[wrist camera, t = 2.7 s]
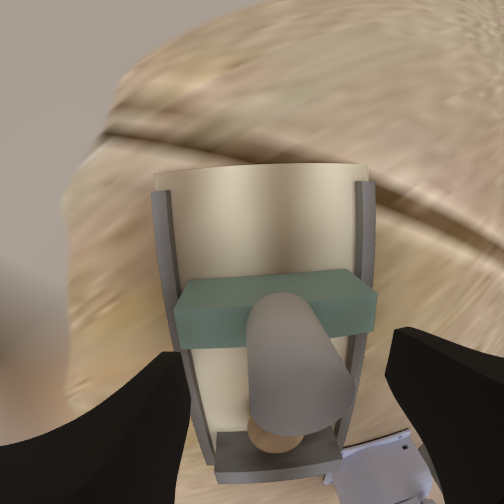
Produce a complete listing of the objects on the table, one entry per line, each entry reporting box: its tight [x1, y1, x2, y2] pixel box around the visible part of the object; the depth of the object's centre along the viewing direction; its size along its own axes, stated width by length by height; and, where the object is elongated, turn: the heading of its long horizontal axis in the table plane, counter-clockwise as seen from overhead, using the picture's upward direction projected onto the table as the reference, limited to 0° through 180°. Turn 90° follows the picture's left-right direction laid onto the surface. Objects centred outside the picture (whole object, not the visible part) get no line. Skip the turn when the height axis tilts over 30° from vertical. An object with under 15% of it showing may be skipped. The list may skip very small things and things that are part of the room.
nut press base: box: [151, 163, 376, 484], centre depth 15 cm, size 12×24×6 cm, turn 3°
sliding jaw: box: [173, 269, 377, 436], centre depth 11 cm, size 9×3×9 cm, turn 93°
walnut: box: [247, 415, 304, 453], centre depth 16 cm, size 4×4×4 cm
